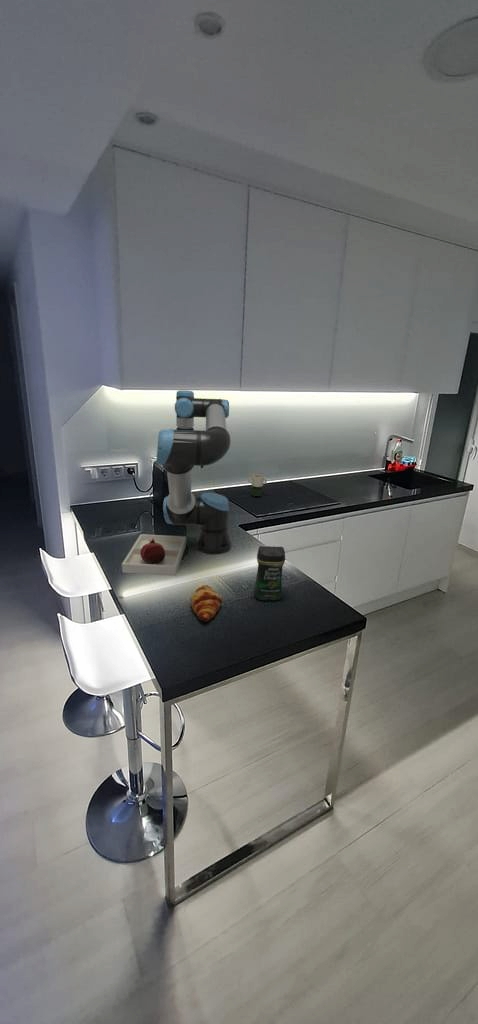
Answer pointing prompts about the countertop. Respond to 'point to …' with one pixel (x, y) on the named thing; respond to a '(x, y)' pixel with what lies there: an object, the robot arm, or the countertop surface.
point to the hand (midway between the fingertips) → (184, 474)
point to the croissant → (205, 602)
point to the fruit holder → (167, 567)
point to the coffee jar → (269, 573)
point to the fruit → (152, 552)
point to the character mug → (257, 484)
